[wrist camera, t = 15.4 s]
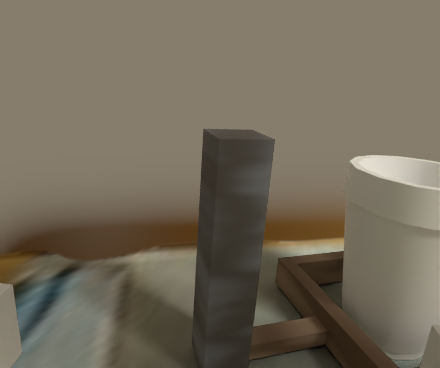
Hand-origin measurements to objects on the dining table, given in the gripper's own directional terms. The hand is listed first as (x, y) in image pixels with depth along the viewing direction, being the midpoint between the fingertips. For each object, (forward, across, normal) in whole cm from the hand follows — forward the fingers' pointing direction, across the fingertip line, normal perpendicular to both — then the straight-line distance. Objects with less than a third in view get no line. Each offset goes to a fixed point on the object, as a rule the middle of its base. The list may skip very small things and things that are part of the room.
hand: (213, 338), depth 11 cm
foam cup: (+15, +13, -11) cm, 22 cm away
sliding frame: (+14, +10, -10) cm, 19 cm away
